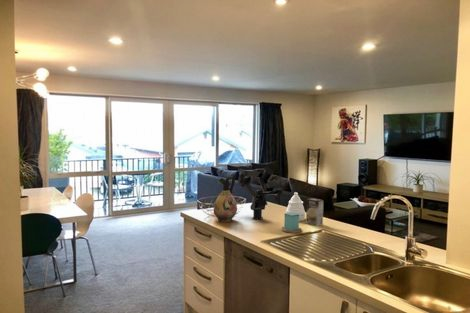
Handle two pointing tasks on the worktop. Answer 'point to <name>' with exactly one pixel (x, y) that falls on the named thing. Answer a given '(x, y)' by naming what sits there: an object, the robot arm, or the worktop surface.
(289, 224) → the teal upright block
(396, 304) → the worktop surface
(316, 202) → the coffee box
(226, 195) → the ceramic jug
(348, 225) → the worktop surface
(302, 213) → the honey pot
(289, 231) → the post stand
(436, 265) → the worktop surface
